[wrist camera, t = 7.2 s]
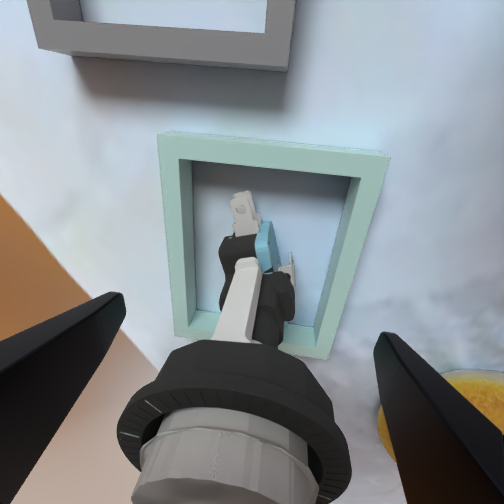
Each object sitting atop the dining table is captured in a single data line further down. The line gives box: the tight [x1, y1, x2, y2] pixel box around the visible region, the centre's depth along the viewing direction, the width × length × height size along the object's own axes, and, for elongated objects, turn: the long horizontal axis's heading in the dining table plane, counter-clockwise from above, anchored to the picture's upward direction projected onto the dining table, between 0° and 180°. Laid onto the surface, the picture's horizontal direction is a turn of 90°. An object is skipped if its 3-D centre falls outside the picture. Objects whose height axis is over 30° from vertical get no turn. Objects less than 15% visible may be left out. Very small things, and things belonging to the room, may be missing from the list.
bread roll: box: [377, 369, 504, 462], centre depth 16 cm, size 8×9×4 cm
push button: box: [117, 190, 352, 504], centre depth 9 cm, size 7×5×10 cm
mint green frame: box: [157, 131, 391, 360], centre depth 13 cm, size 9×11×2 cm
